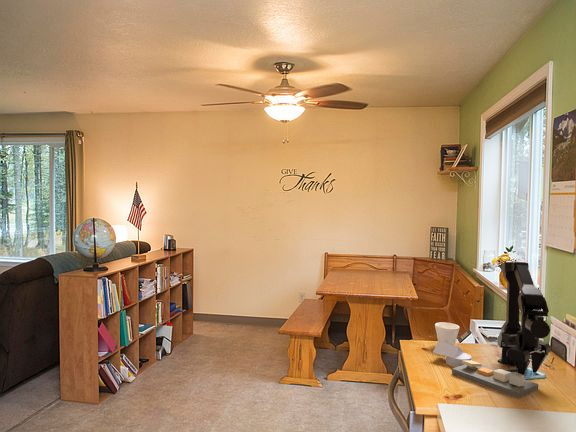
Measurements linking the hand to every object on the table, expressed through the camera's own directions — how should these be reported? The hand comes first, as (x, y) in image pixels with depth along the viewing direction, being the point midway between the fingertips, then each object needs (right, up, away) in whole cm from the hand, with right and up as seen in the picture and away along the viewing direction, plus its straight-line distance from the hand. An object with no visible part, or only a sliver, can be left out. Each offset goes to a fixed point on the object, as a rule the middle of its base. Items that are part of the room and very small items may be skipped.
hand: (527, 375), depth 156 cm
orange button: (-12, -3, +6) cm, 14 cm away
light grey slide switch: (-6, -2, -4) cm, 7 cm away
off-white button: (-8, -2, +1) cm, 8 cm away
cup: (-14, -2, +40) cm, 43 cm away
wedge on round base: (-18, -3, +22) cm, 28 cm away
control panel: (-10, -4, +4) cm, 11 cm away
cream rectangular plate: (-15, +1, +10) cm, 18 cm away
